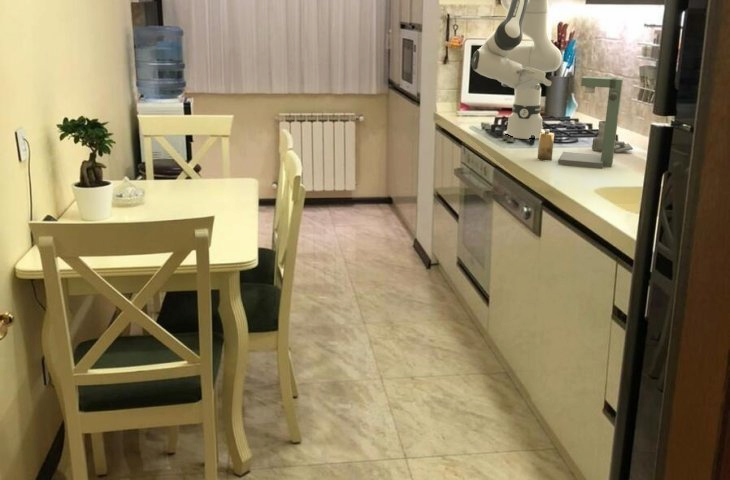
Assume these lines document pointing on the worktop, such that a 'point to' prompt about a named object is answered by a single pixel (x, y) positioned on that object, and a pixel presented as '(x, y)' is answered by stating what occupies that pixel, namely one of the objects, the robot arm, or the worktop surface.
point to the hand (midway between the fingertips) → (545, 86)
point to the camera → (598, 141)
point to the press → (610, 125)
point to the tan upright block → (545, 145)
